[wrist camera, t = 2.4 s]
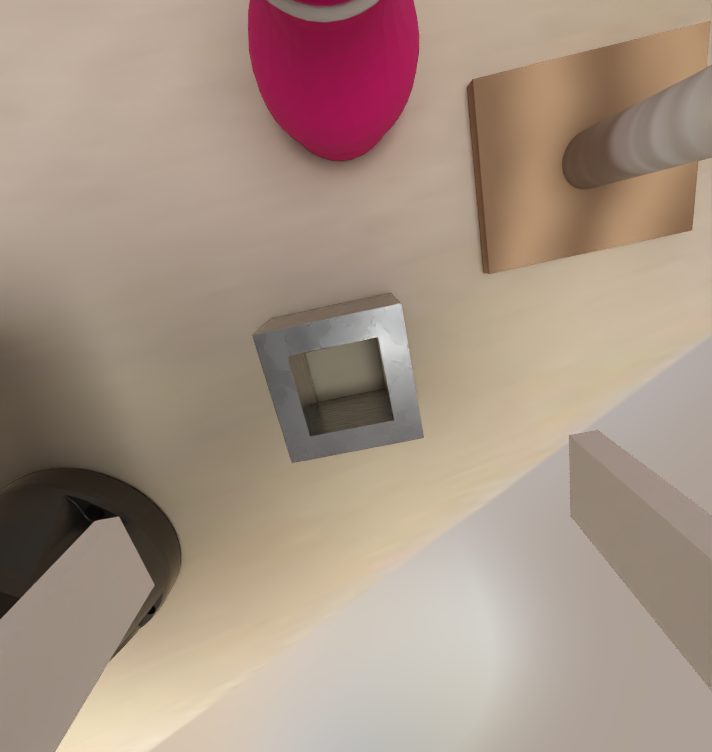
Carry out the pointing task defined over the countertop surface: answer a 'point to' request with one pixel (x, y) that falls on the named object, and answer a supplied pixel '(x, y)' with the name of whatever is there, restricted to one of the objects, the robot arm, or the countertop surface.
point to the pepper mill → (334, 68)
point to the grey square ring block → (348, 414)
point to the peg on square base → (591, 148)
